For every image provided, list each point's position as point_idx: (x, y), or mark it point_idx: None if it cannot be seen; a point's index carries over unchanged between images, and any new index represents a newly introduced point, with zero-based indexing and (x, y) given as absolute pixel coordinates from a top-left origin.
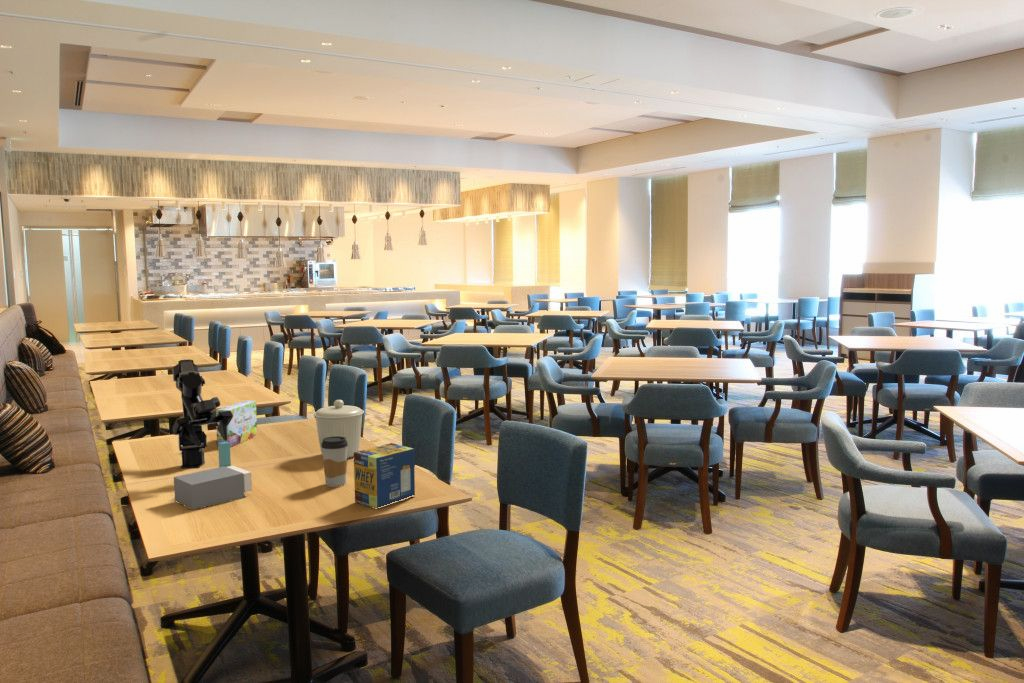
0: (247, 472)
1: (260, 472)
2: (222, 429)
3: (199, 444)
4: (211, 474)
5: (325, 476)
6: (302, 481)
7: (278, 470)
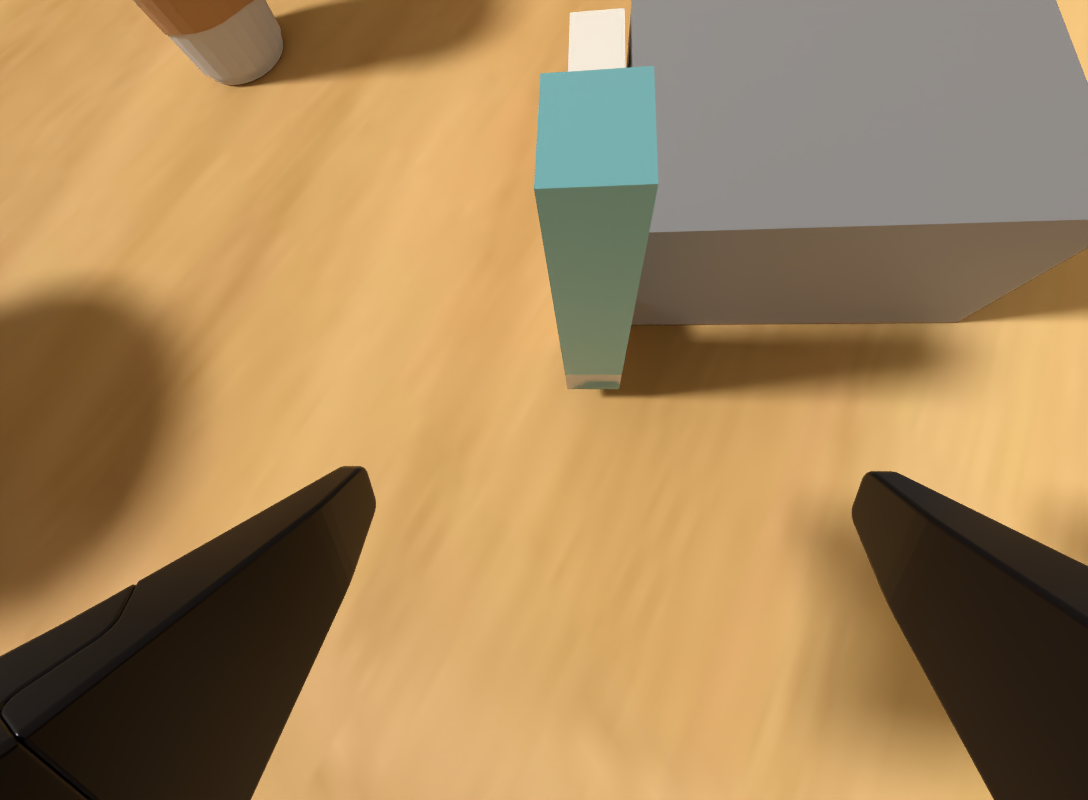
0: (589, 20)
1: (272, 502)
2: (181, 674)
3: (880, 473)
4: (823, 93)
5: (251, 11)
6: (283, 178)
7: (187, 452)
